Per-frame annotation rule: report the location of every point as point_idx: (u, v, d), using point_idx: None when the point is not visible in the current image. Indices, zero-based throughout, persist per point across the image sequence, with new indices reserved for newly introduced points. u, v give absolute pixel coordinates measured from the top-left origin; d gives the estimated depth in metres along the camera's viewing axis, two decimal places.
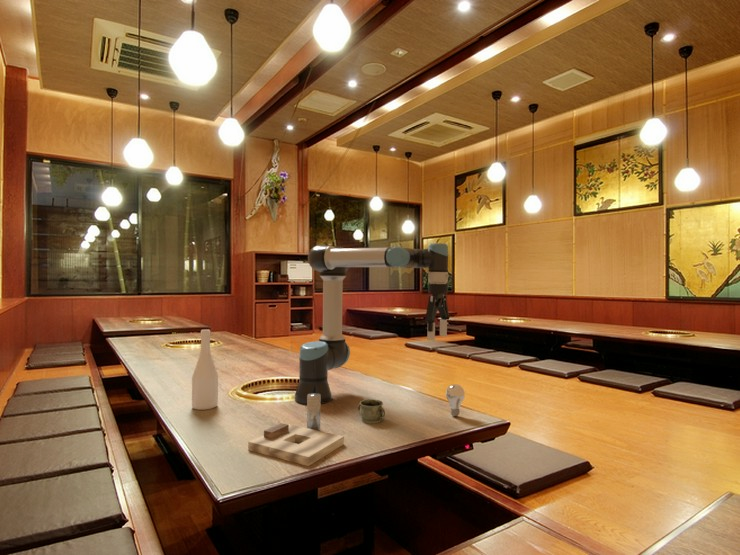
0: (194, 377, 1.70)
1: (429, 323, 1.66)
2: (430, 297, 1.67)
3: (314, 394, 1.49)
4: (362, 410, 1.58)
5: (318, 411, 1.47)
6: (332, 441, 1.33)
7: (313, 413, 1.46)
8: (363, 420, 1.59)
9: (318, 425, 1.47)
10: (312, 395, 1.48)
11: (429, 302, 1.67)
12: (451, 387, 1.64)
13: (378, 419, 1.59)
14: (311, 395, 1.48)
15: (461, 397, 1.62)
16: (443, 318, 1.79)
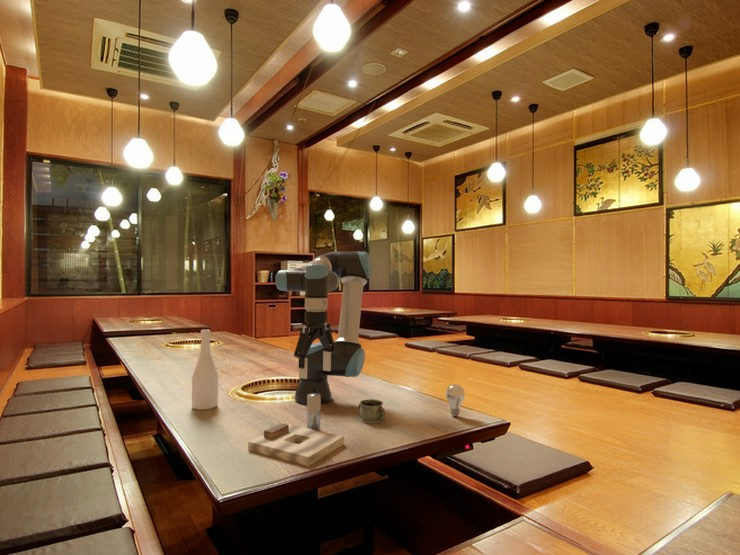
0: (194, 377, 1.70)
1: (300, 359, 1.41)
2: (302, 328, 1.43)
3: (314, 394, 1.49)
4: (362, 410, 1.58)
5: (318, 411, 1.47)
6: (332, 441, 1.33)
7: (313, 413, 1.46)
8: (363, 420, 1.59)
9: (318, 425, 1.47)
10: (312, 395, 1.48)
11: (301, 334, 1.43)
12: (451, 387, 1.64)
13: (378, 419, 1.59)
14: (311, 395, 1.48)
15: (461, 397, 1.62)
16: (327, 350, 1.55)
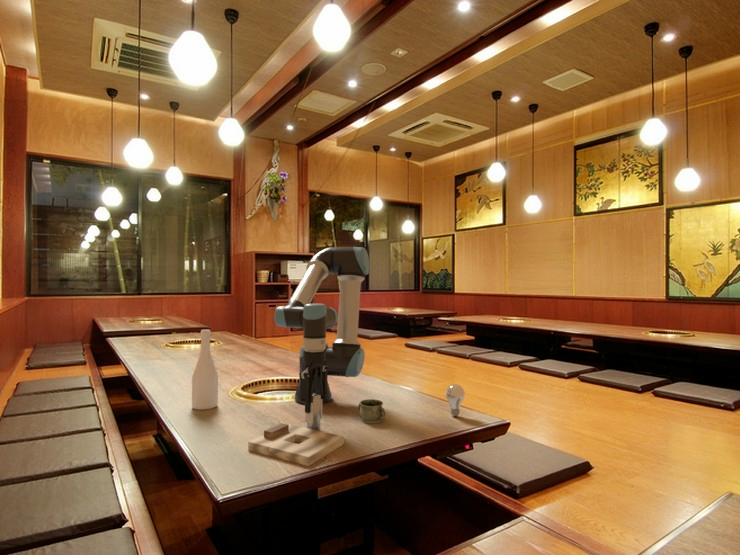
0: (194, 377, 1.70)
1: (306, 404, 1.45)
2: (301, 374, 1.43)
3: (314, 394, 1.49)
4: (362, 410, 1.58)
5: (318, 411, 1.47)
6: (332, 441, 1.33)
7: (313, 413, 1.46)
8: (363, 420, 1.59)
9: (318, 425, 1.47)
10: None
11: (301, 379, 1.44)
12: (451, 387, 1.64)
13: (378, 419, 1.59)
14: None
15: (461, 397, 1.62)
16: None
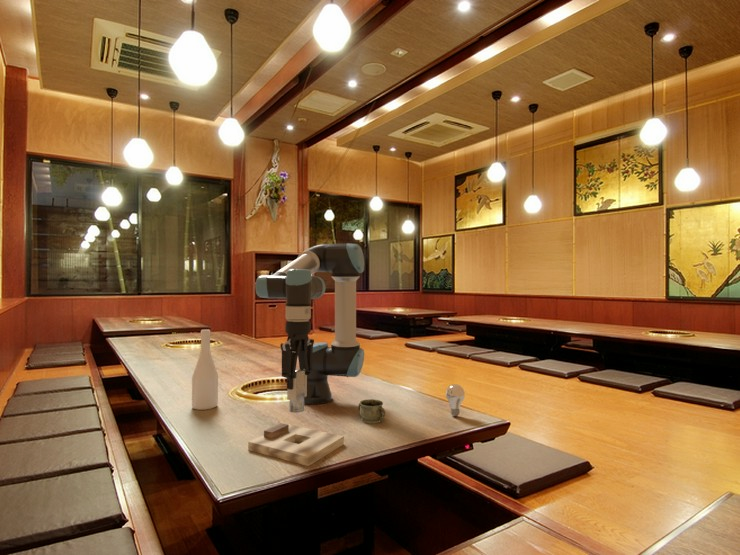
0: (194, 377, 1.70)
1: (288, 379, 1.30)
2: (282, 346, 1.29)
3: (297, 369, 1.35)
4: (362, 410, 1.58)
5: (302, 388, 1.33)
6: (332, 441, 1.33)
7: (296, 390, 1.32)
8: (363, 420, 1.59)
9: (302, 404, 1.33)
10: (296, 370, 1.34)
11: (283, 352, 1.29)
12: (451, 387, 1.64)
13: (378, 419, 1.59)
14: None
15: (461, 397, 1.62)
16: None
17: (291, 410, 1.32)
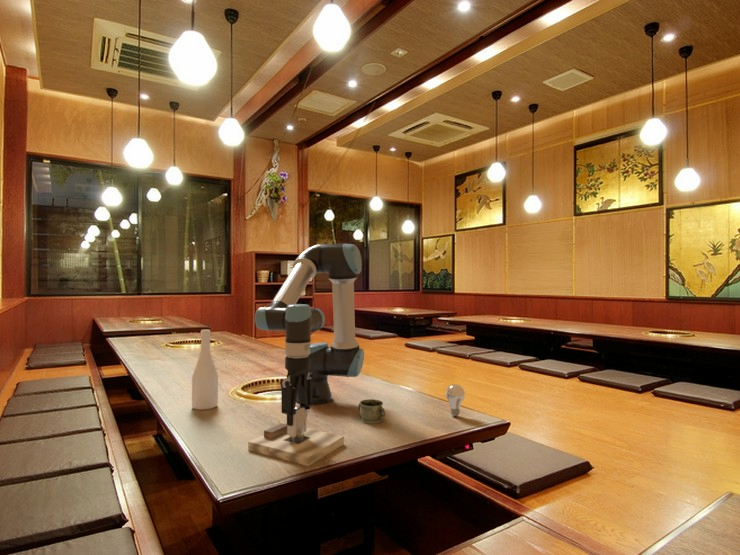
0: (194, 377, 1.70)
1: (288, 415, 1.31)
2: (282, 383, 1.29)
3: (297, 406, 1.35)
4: (362, 410, 1.58)
5: (302, 425, 1.33)
6: (332, 441, 1.33)
7: (296, 428, 1.32)
8: (363, 420, 1.59)
9: (302, 441, 1.33)
10: (296, 407, 1.34)
11: (282, 389, 1.29)
12: (451, 387, 1.64)
13: (378, 419, 1.59)
14: None
15: (461, 397, 1.62)
16: None
17: None
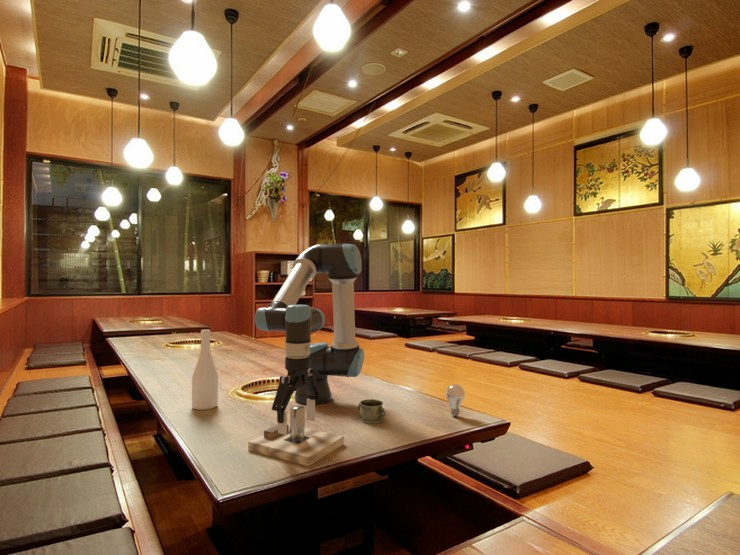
0: (194, 377, 1.70)
1: (278, 412, 1.27)
2: (281, 377, 1.29)
3: (297, 406, 1.35)
4: (362, 410, 1.58)
5: (302, 425, 1.33)
6: (332, 441, 1.33)
7: (296, 428, 1.32)
8: (363, 420, 1.59)
9: (302, 441, 1.33)
10: (296, 407, 1.34)
11: (280, 384, 1.28)
12: (451, 387, 1.64)
13: (378, 419, 1.59)
14: (294, 408, 1.33)
15: (461, 397, 1.62)
16: (311, 397, 1.41)
17: None
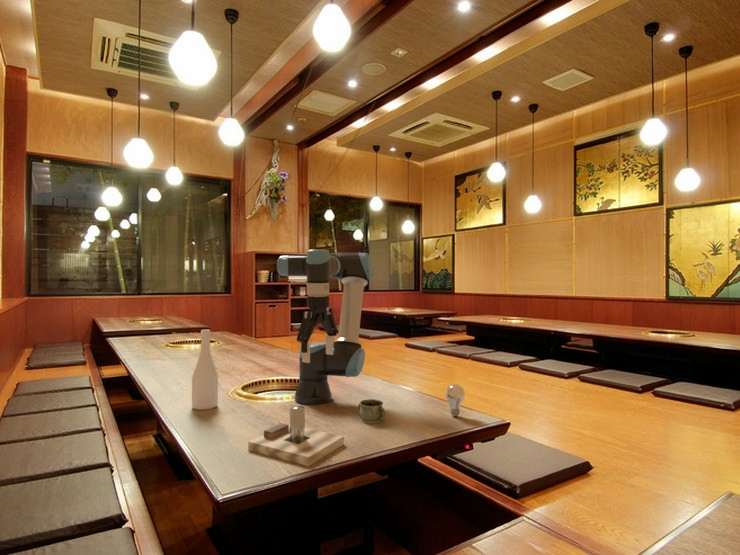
0: (194, 377, 1.70)
1: (302, 343, 1.43)
2: (304, 313, 1.44)
3: (297, 406, 1.35)
4: (362, 410, 1.58)
5: (302, 425, 1.33)
6: (332, 441, 1.33)
7: (296, 428, 1.32)
8: (363, 420, 1.59)
9: (302, 441, 1.33)
10: (296, 407, 1.34)
11: (303, 319, 1.44)
12: (451, 387, 1.64)
13: (378, 419, 1.59)
14: (294, 408, 1.33)
15: (461, 397, 1.62)
16: (329, 334, 1.56)
17: None
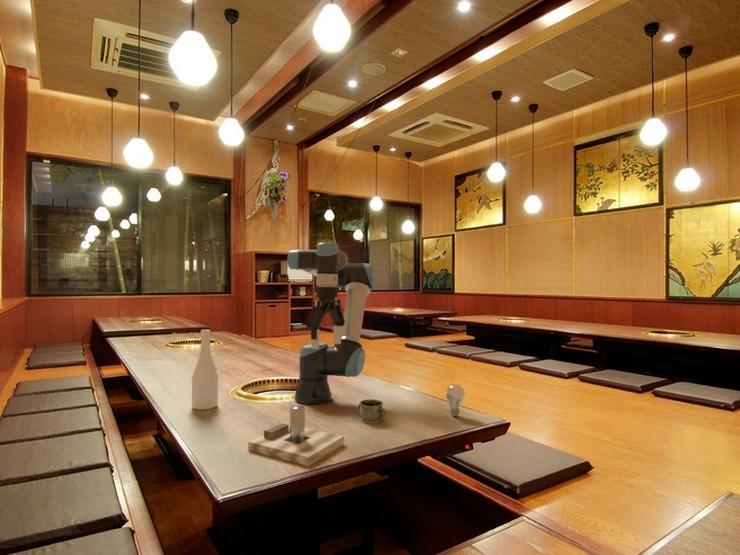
0: (194, 377, 1.70)
1: (312, 330, 1.51)
2: (314, 302, 1.52)
3: (297, 406, 1.35)
4: (362, 410, 1.58)
5: (302, 425, 1.33)
6: (332, 441, 1.33)
7: (296, 428, 1.32)
8: (363, 420, 1.59)
9: (302, 441, 1.33)
10: (296, 407, 1.34)
11: (313, 307, 1.52)
12: (451, 387, 1.64)
13: (378, 419, 1.59)
14: (294, 408, 1.33)
15: (461, 397, 1.62)
16: (337, 324, 1.64)
17: None
